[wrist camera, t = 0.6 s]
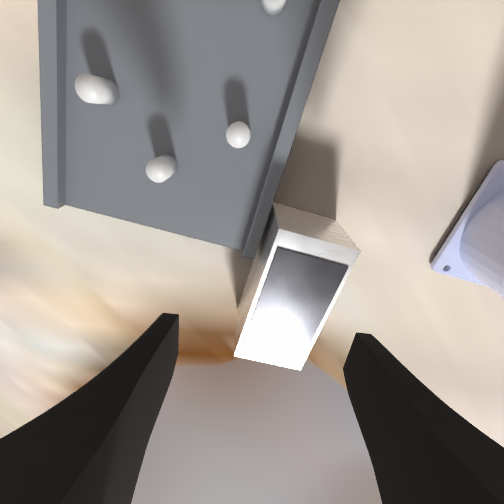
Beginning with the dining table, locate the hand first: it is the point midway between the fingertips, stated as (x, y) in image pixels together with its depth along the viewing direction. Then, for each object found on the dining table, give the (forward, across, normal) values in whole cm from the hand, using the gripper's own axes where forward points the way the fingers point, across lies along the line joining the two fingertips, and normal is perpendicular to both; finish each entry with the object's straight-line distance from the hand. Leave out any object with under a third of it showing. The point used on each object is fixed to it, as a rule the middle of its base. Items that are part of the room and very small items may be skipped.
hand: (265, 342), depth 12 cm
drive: (+10, -2, +2) cm, 10 cm away
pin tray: (+9, +5, -11) cm, 15 cm away
